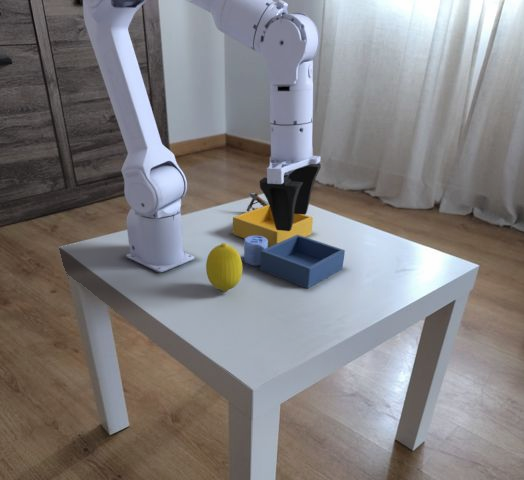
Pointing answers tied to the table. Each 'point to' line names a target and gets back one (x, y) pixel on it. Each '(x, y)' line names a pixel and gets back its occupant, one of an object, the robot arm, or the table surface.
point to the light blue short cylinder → (254, 249)
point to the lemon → (224, 267)
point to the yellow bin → (269, 225)
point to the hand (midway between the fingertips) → (292, 221)
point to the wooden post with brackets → (256, 198)
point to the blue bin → (302, 260)
